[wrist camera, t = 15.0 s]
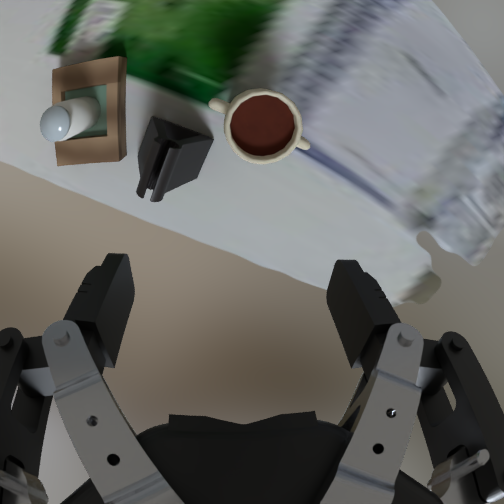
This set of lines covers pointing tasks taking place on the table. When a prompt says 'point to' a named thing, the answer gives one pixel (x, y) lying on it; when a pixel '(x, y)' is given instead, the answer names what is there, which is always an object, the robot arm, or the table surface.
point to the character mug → (261, 125)
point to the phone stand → (169, 157)
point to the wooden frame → (112, 110)
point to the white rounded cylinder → (69, 118)
